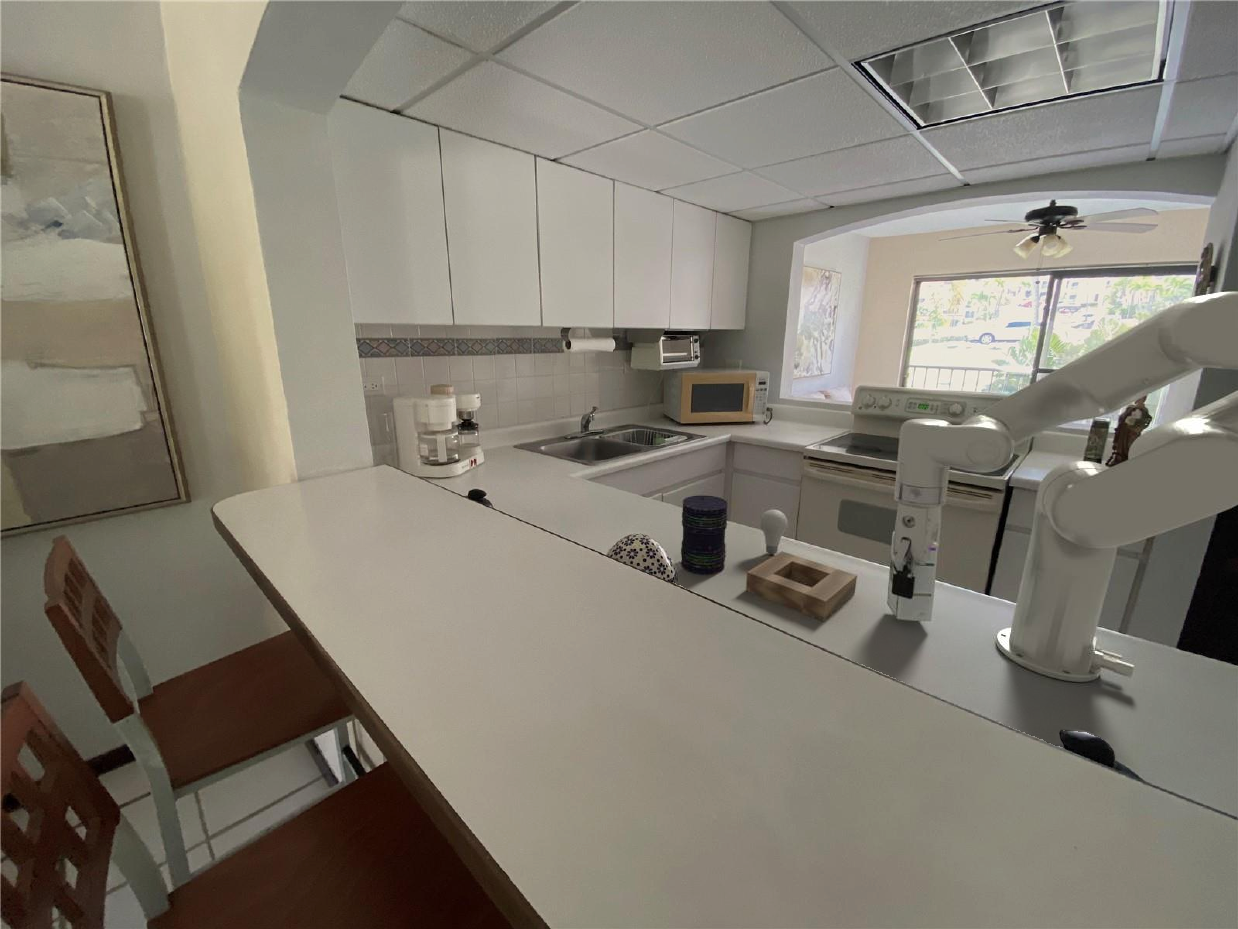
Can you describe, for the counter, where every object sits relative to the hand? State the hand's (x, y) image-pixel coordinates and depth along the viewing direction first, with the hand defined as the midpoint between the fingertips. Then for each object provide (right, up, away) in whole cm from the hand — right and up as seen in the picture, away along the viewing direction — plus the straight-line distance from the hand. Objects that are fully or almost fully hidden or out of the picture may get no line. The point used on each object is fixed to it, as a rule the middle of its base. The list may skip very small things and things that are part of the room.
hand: (910, 586), depth 87 cm
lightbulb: (-16, 0, +29) cm, 33 cm away
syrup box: (0, -5, +1) cm, 5 cm away
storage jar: (-33, -1, +23) cm, 40 cm away
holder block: (-15, -4, +11) cm, 20 cm away
